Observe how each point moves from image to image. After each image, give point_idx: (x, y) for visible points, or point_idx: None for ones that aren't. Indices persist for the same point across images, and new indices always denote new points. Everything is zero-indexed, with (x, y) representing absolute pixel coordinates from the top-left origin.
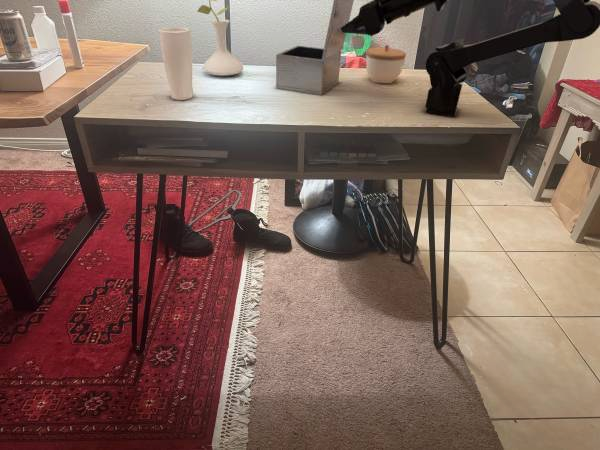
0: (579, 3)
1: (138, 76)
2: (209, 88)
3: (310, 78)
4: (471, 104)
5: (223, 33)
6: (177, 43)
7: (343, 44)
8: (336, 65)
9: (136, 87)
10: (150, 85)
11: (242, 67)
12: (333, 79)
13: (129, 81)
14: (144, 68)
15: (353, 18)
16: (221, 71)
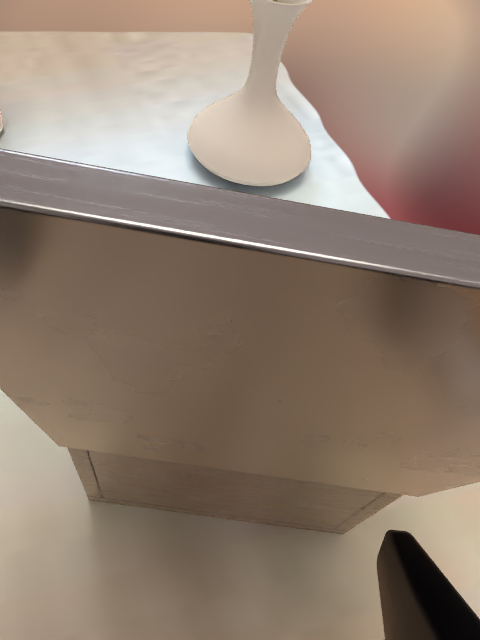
0: None
1: (142, 44)
2: (80, 159)
3: None
4: None
5: (262, 39)
6: None
7: (428, 492)
8: (315, 501)
9: (48, 55)
10: (72, 69)
11: (264, 178)
12: (263, 514)
13: (94, 40)
14: (213, 41)
15: (393, 538)
16: (191, 145)
